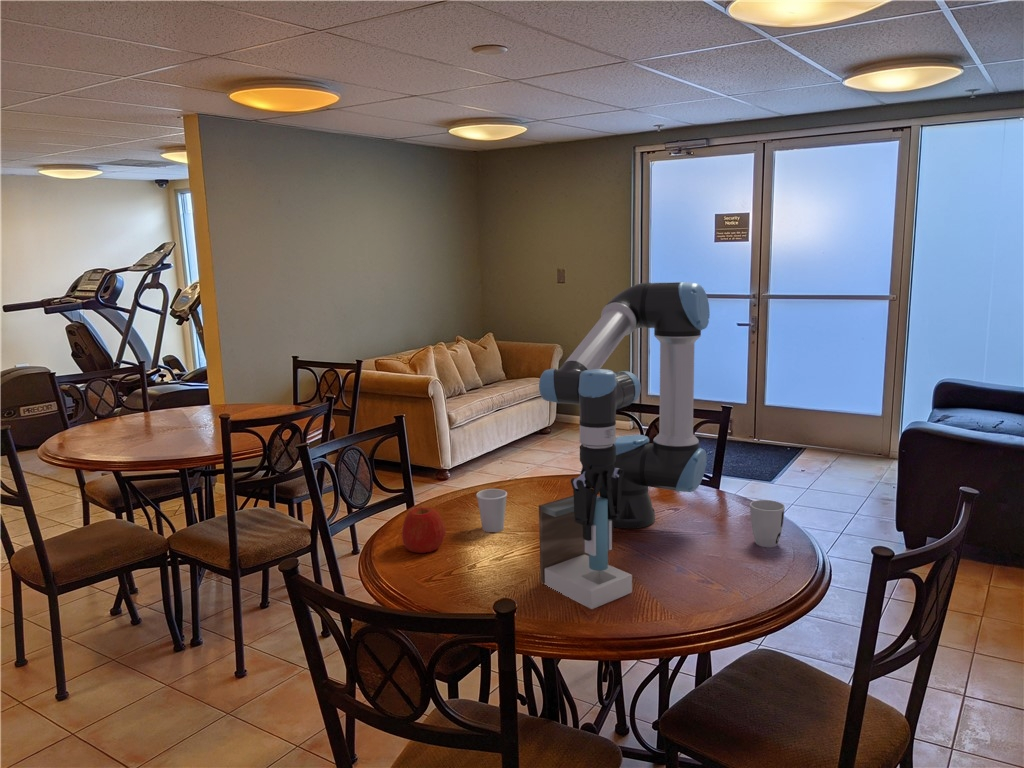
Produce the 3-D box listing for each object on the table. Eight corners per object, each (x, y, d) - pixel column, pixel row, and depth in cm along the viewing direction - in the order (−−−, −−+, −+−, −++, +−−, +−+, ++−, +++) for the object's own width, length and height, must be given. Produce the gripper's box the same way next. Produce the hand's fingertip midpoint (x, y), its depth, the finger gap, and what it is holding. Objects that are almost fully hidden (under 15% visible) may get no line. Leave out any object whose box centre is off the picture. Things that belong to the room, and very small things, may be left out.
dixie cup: (500, 521, 205) (499, 486, 203) (513, 530, 198) (512, 495, 196) (472, 526, 201) (471, 491, 200) (485, 536, 194) (483, 500, 192)
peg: (585, 566, 158) (584, 499, 156) (598, 561, 161) (598, 495, 158) (598, 572, 155) (597, 503, 153) (611, 567, 157) (611, 499, 155)
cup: (785, 550, 179) (787, 511, 178) (751, 548, 181) (752, 509, 179) (780, 538, 187) (782, 500, 186) (747, 536, 189) (748, 499, 187)
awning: (540, 583, 165) (538, 505, 162) (586, 566, 174) (585, 491, 171) (556, 591, 161) (555, 511, 158) (602, 573, 169) (602, 497, 166)
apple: (453, 543, 190) (451, 503, 189) (431, 559, 181) (429, 517, 179) (417, 537, 195) (415, 499, 193) (394, 552, 185) (391, 512, 183)
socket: (544, 585, 164) (544, 568, 163) (584, 570, 171) (584, 554, 171) (591, 609, 152) (591, 591, 152) (632, 592, 160) (632, 574, 159)
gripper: (579, 454, 145) (581, 566, 149) (639, 440, 156) (638, 546, 159) (554, 447, 151) (556, 556, 155) (613, 434, 162) (614, 536, 165)
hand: (598, 550), depth 157 cm, fingers closed on peg, 4 cm apart
